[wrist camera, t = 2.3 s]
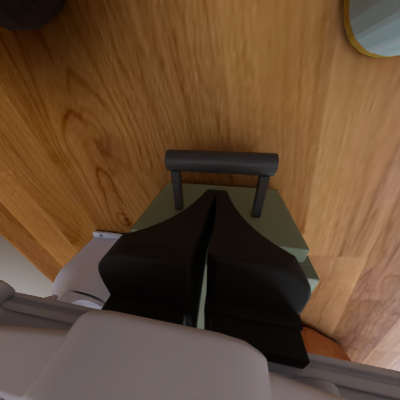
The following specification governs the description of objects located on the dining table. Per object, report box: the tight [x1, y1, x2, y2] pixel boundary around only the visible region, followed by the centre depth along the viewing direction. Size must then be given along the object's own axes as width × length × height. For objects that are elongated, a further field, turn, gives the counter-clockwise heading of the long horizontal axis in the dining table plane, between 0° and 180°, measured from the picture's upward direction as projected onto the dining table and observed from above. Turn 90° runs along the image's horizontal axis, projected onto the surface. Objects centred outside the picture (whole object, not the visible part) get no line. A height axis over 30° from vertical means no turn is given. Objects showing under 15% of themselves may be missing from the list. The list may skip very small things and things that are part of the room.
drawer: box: [131, 150, 309, 263], centre depth 16 cm, size 18×11×8 cm, turn 0°
